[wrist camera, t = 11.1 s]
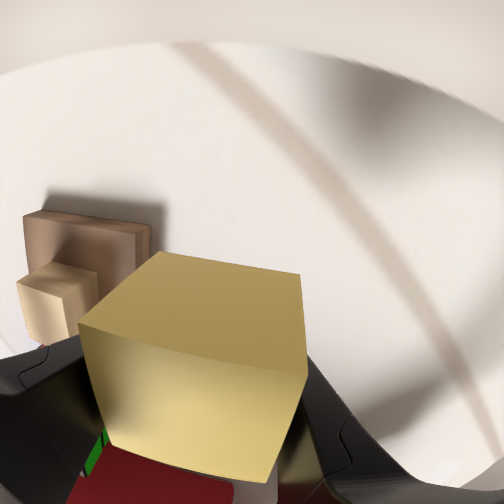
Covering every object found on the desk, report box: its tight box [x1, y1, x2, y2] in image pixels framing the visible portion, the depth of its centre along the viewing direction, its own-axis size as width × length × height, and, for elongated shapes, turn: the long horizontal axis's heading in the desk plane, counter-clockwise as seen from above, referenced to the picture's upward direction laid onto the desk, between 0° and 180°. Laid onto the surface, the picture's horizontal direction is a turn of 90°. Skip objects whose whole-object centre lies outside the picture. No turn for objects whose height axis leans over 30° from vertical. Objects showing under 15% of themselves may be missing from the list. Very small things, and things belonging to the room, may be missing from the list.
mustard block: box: [77, 251, 308, 483], centre depth 8 cm, size 4×4×4 cm
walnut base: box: [23, 210, 150, 301], centre depth 22 cm, size 12×12×2 cm
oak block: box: [16, 261, 100, 346], centre depth 19 cm, size 5×5×4 cm
